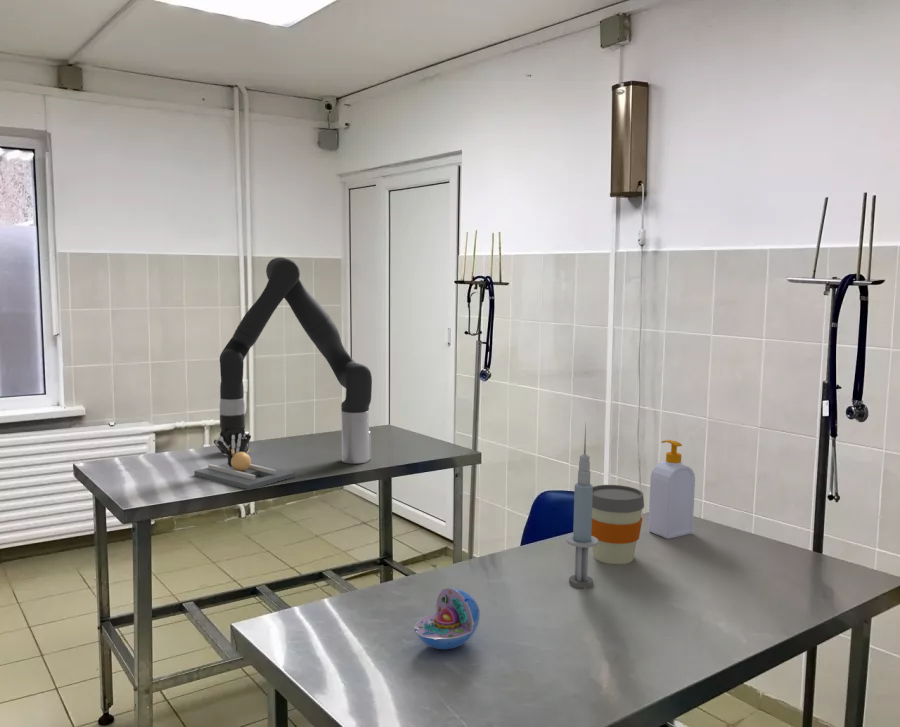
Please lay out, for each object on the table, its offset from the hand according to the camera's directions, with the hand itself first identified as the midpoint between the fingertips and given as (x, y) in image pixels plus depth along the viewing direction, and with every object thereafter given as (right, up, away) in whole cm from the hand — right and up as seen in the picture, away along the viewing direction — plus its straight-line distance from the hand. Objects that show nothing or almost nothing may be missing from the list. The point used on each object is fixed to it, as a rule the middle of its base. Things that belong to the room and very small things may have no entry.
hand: (233, 466), depth 240 cm
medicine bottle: (-7, +1, +27) cm, 28 cm away
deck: (+4, -3, -3) cm, 6 cm away
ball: (+3, +2, -3) cm, 5 cm away
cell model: (+68, -16, -110) cm, 130 cm away
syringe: (+95, -13, -83) cm, 127 cm away
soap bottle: (+123, -10, -51) cm, 133 cm away
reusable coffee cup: (+105, -11, -68) cm, 126 cm away
